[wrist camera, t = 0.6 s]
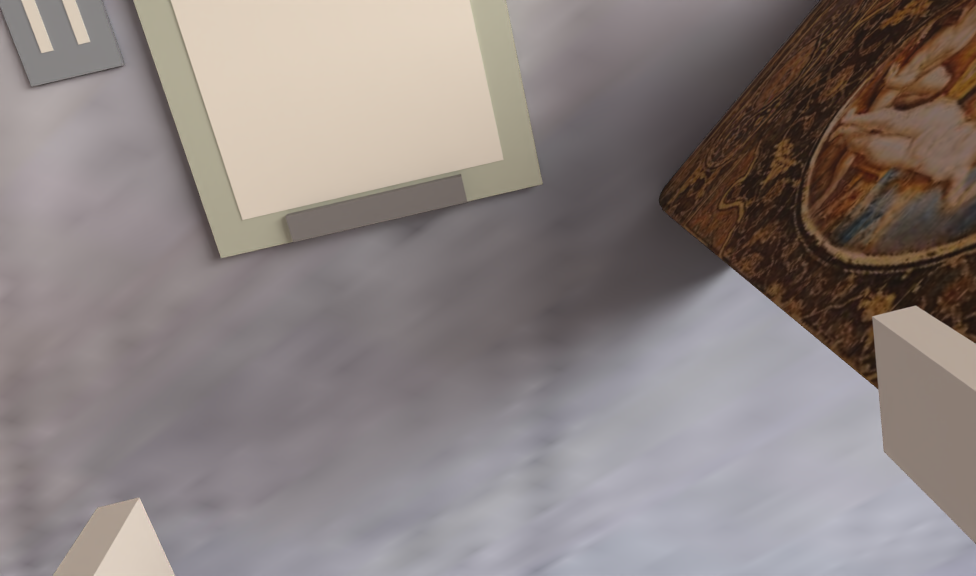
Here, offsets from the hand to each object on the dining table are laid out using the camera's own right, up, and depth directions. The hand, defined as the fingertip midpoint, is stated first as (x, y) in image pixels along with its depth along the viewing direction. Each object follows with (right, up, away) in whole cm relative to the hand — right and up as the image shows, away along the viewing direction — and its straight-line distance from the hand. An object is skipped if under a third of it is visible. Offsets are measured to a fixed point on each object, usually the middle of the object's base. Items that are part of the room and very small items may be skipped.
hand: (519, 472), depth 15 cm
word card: (-19, +15, +20) cm, 31 cm away
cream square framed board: (-7, +14, +21) cm, 26 cm away
